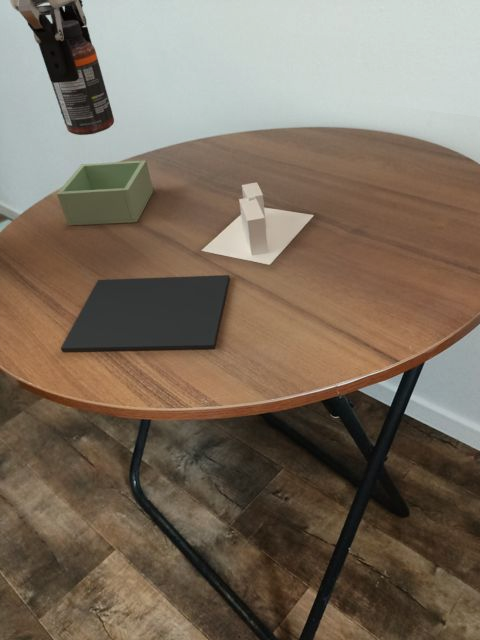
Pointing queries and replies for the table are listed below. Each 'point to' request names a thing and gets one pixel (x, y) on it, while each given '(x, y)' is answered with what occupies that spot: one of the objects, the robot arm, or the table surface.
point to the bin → (106, 193)
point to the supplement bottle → (83, 88)
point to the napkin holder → (257, 230)
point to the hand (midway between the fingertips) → (74, 71)
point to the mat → (150, 314)
